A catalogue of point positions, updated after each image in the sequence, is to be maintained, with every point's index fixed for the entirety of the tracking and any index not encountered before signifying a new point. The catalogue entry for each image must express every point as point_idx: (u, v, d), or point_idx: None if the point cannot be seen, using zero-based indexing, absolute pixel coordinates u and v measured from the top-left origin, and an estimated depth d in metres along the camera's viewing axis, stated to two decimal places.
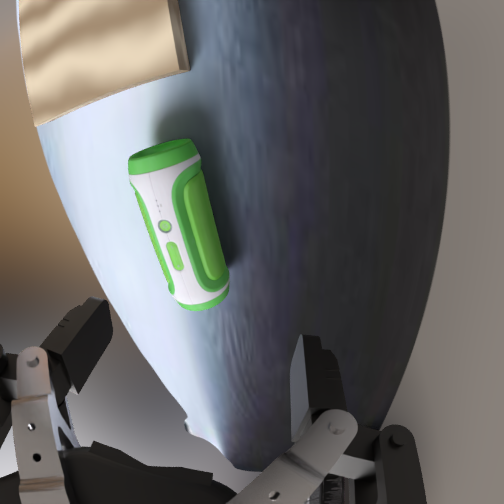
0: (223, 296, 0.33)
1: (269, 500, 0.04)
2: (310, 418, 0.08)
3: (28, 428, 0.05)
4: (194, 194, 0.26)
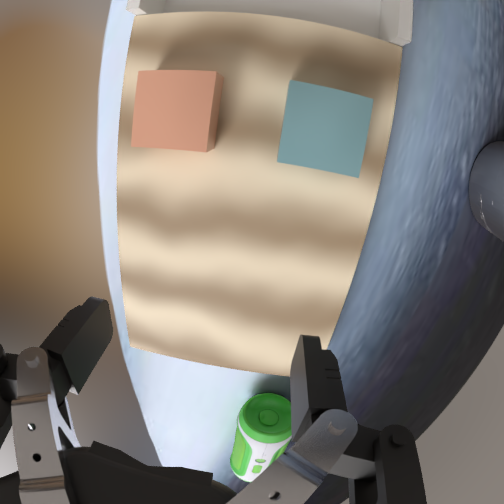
0: None
1: (269, 500, 0.04)
2: (311, 417, 0.08)
3: (28, 428, 0.05)
4: None
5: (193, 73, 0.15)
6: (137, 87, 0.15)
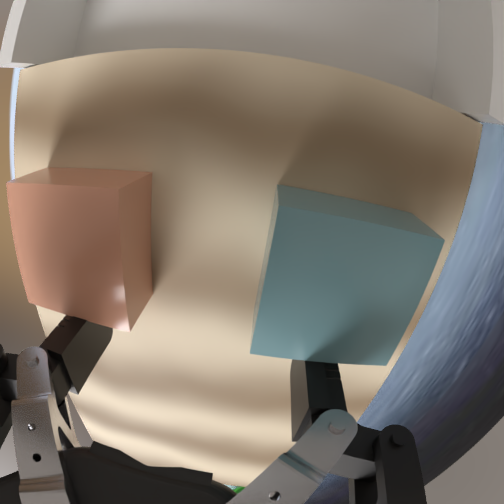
0: None
1: (269, 500, 0.04)
2: (311, 417, 0.08)
3: (28, 428, 0.05)
4: None
5: (79, 193, 0.07)
6: (10, 212, 0.08)
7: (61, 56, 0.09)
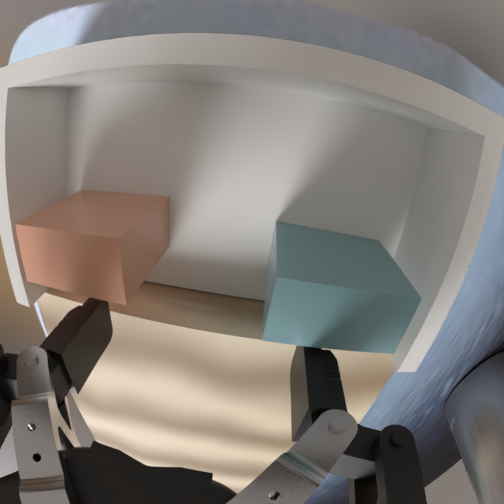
0: None
1: (269, 500, 0.04)
2: (311, 418, 0.08)
3: (28, 428, 0.05)
4: None
5: (140, 194, 0.13)
6: (69, 196, 0.12)
7: None
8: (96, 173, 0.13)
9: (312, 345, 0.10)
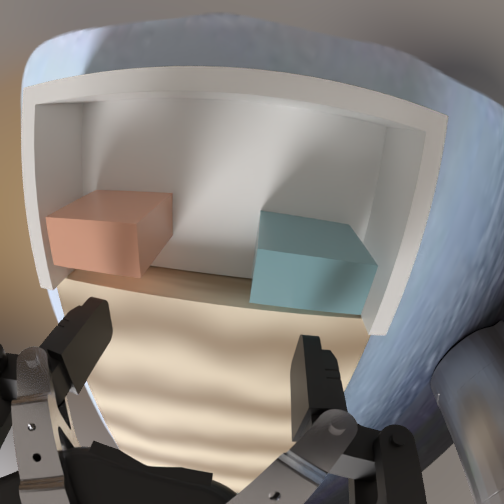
0: None
1: (269, 500, 0.04)
2: (311, 417, 0.08)
3: (28, 428, 0.05)
4: None
5: (148, 192, 0.16)
6: (87, 194, 0.15)
7: None
8: (109, 175, 0.15)
9: (290, 306, 0.13)
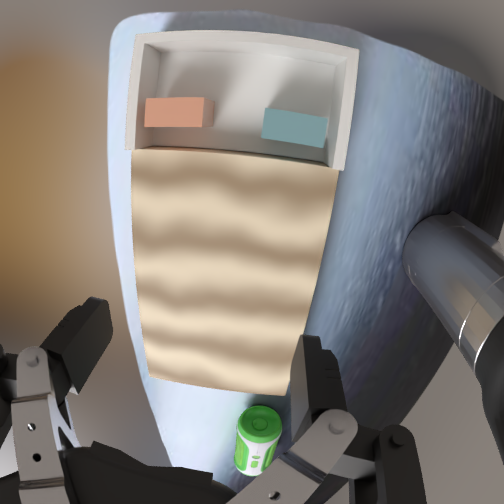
0: None
1: (269, 500, 0.04)
2: (311, 417, 0.08)
3: (28, 428, 0.05)
4: (275, 444, 0.40)
5: None
6: None
7: (149, 141, 0.26)
8: (175, 92, 0.25)
9: None
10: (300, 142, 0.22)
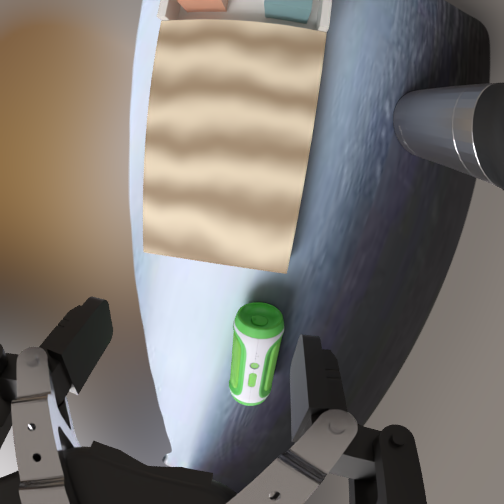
0: None
1: (269, 500, 0.04)
2: (311, 417, 0.08)
3: (28, 429, 0.05)
4: (277, 349, 0.41)
5: None
6: None
7: None
8: None
9: (280, 5, 0.23)
10: (293, 6, 0.23)
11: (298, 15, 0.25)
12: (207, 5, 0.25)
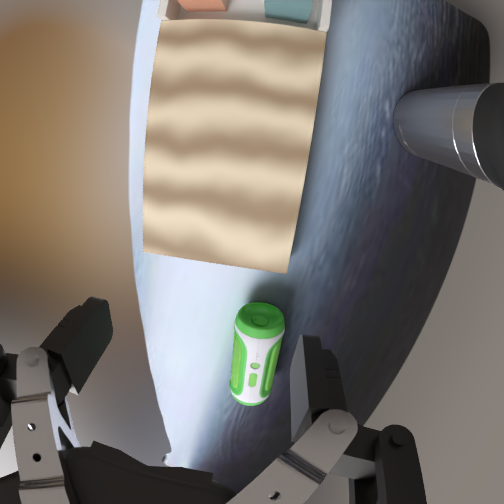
0: (266, 398, 0.46)
1: (269, 500, 0.04)
2: (310, 418, 0.08)
3: (28, 429, 0.05)
4: (277, 349, 0.41)
5: None
6: None
7: None
8: None
9: (280, 5, 0.23)
10: (293, 6, 0.23)
11: (298, 15, 0.25)
12: (207, 5, 0.25)
